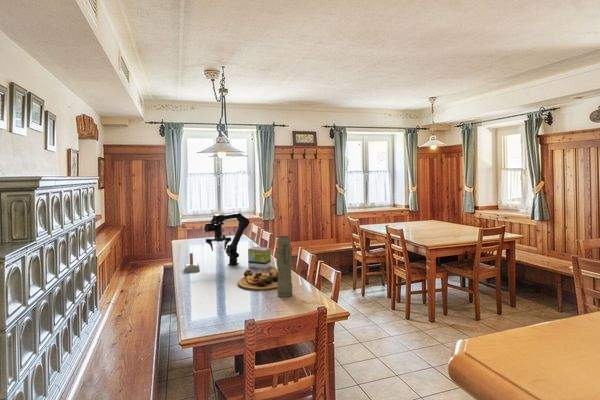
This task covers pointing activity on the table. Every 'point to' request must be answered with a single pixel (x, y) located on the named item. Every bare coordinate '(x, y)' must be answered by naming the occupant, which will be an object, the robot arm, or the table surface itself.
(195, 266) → the box
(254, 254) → the tea box
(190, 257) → the cover plate
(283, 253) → the grey-green tall block
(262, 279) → the wooden plate with food
